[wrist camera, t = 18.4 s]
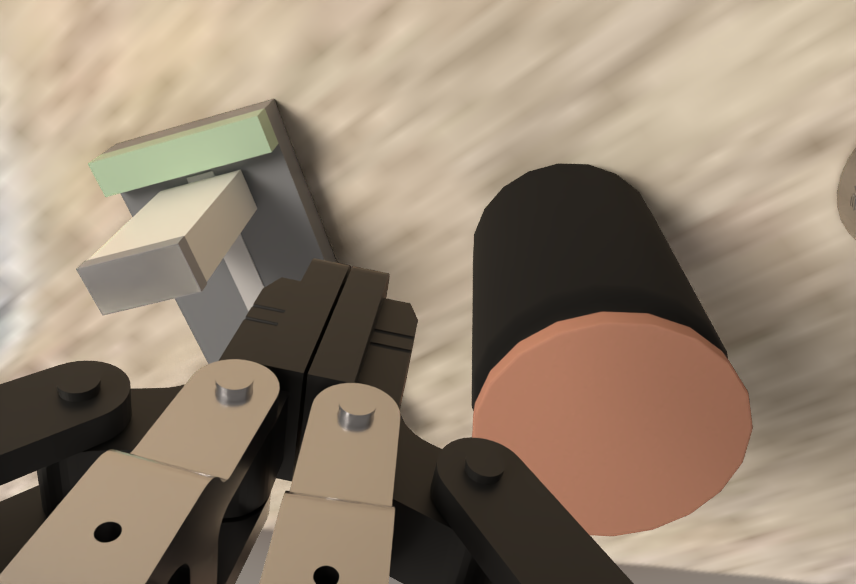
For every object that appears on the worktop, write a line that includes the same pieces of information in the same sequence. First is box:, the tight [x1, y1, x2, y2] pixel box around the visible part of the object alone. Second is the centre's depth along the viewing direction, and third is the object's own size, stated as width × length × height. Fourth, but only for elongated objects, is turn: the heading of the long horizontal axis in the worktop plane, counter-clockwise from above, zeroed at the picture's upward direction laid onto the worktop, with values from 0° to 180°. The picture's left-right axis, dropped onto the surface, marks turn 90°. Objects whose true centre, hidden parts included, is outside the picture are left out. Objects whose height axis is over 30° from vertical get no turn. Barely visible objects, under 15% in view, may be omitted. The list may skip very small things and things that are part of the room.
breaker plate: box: [88, 99, 337, 364], centre depth 44 cm, size 22×10×4 cm, turn 16°
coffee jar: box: [472, 164, 753, 536], centre depth 35 cm, size 11×11×18 cm
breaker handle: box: [76, 170, 257, 315], centre depth 37 cm, size 2×5×10 cm, turn 106°
